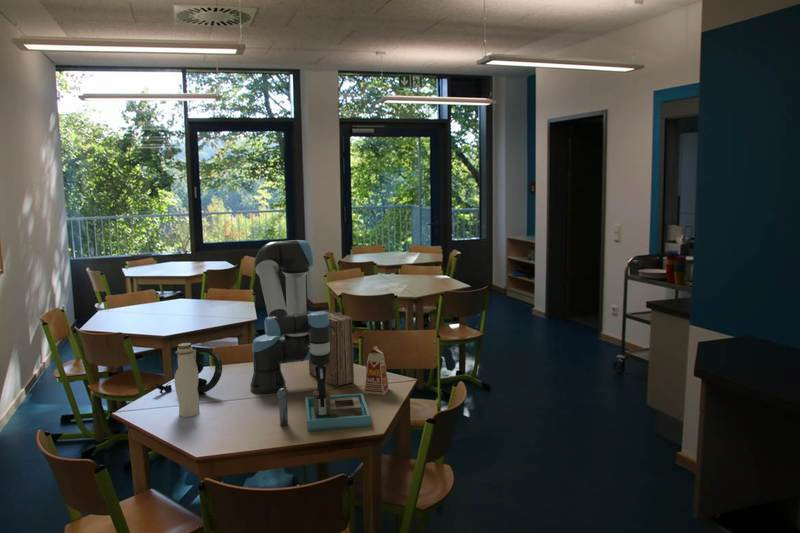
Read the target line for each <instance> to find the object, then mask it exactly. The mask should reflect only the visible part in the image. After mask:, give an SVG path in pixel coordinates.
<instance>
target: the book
mask: <svg viewBox="0 0 800 533" xmlns="http://www.w3.org/2000/svg"><path fill="white" fill-rule="evenodd" d="M312 311H313V312H317V311H322V312H326V313H327V314H328V318H329V341H330V352H329V353H330V363H328V364H325V365H324V366H325V367H326V380H325V384H328V385H330V386H331V387H334V388H336V389H337V388H338V386H344V385H347V384H354V383H355V372H354V371H355V370H354V347H353V346H354V343H353V342H354V341H353V337H354V336H353V318H352V317H351V316H348V315H346V314H341V313H338V312H335V311H333V310H330V309H329V310H328V309H325V308H324V309H316V310H312ZM315 367H316V365H313V364H311V363H310V360H308V372H309V374H308V375H310V376H312V377H314V378H315V379H317V377H316V372H315Z"/></svg>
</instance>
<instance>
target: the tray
mask: <svg viewBox="0 0 800 533" xmlns="http://www.w3.org/2000/svg"><path fill="white" fill-rule="evenodd" d="M352 397H358V398H359V401H360V404H361V407H362V415H356V416H344V417H332V418H330V415H329V414H328V415H315V413H314V396H311V397H305V398H304V400H305V414H306V427H307V432H308V433H309V432H319V431H320V432H321V431H322V432H323V431H332V430H344V429H354V428H356V429H357V428H366V427H367V428H368V427H372V425H371V424H372V422H371V420H372V417H371V413H370V411H369V407H368V405H367V403H366V400H365V396H364V392H363V393H348V394H337V395H336V394H335V395H330V399H339V398H352Z"/></svg>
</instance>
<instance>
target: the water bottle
mask: <svg viewBox="0 0 800 533" xmlns="http://www.w3.org/2000/svg"><path fill="white" fill-rule="evenodd" d="M196 352H197V349H196V348H195V349H194V348H193V346H192V343H191V342H182V343H179V344H177V350H176V351H175V352H174V353H175V354H176V355H177V369H176V372H175V373H174V388H175V394H176V396H177V401H178V415H179V416H180V417H183V418H189V417H190V418H191V417H194V416H197V415H199V414H200V399H199V398H200V396H199V394H198V390H197V388H198V378H199V374H198V368H197V365H196Z"/></svg>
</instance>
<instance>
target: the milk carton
mask: <svg viewBox="0 0 800 533" xmlns="http://www.w3.org/2000/svg"><path fill="white" fill-rule="evenodd" d="M372 348H373V349H372V350H371V351H370V352H369V353H368V358H367V362H366V369H365V370H366V374H365V375H366V376H365V385H364V389H363V394H368V393H369V394H370V393H371V394H372V395H383V394H385V395H386V393H387V392H388V390H389V379H388V373H387V367H386V366H387V365H386V361H385V356H384V352H382V351H381V350H380V349H378V346H377V345H376V346H373V347H372Z"/></svg>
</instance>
